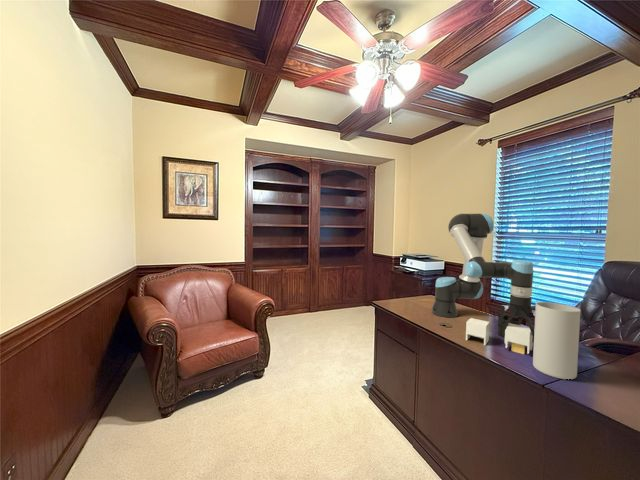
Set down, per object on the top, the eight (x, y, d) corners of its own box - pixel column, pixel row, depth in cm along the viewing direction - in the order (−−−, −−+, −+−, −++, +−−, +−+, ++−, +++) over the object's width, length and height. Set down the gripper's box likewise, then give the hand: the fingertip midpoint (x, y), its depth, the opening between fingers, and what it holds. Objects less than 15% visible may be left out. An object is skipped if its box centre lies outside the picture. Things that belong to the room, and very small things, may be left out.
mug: (529, 338, 130) (529, 320, 130) (508, 340, 128) (509, 321, 128) (511, 331, 140) (512, 314, 139) (492, 332, 137) (493, 315, 137)
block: (512, 347, 120) (513, 338, 120) (525, 351, 117) (525, 341, 117) (511, 351, 116) (511, 341, 116) (524, 354, 113) (524, 344, 113)
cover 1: (469, 335, 133) (470, 317, 133) (488, 340, 128) (489, 321, 127) (465, 340, 127) (466, 321, 127) (485, 345, 122) (486, 326, 121)
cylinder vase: (524, 365, 104) (527, 303, 103) (546, 361, 107) (549, 301, 107) (562, 383, 92) (565, 312, 91) (585, 377, 96) (588, 310, 95)
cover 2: (508, 341, 123) (509, 323, 122) (530, 347, 117) (531, 327, 117) (505, 347, 117) (506, 327, 116) (528, 353, 111) (530, 333, 111)
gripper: (491, 292, 120) (488, 341, 121) (552, 302, 106) (549, 356, 107) (494, 290, 126) (491, 336, 127) (552, 298, 111) (549, 350, 112)
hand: (518, 345), depth 117 cm, fingers closed on cover 2, 8 cm apart
